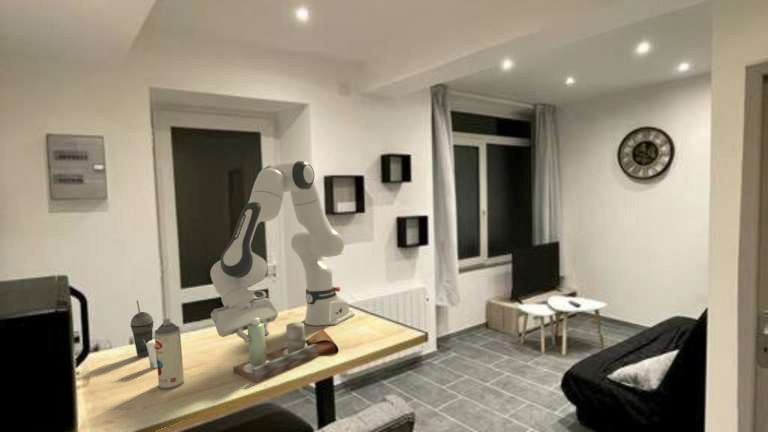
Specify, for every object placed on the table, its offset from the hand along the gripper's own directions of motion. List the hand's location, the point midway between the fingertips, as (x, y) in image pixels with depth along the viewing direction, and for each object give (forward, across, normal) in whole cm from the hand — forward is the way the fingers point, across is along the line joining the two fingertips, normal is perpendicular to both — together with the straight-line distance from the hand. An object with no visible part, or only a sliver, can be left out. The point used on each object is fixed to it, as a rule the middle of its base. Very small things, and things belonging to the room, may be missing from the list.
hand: (257, 338), depth 134 cm
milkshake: (-15, -19, +31) cm, 39 cm away
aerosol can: (-3, -21, +18) cm, 28 cm away
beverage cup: (-25, -17, +41) cm, 51 cm away
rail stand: (+7, +7, +8) cm, 13 cm away
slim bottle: (+5, 0, +6) cm, 8 cm away
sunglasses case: (+8, +25, +8) cm, 28 cm away
